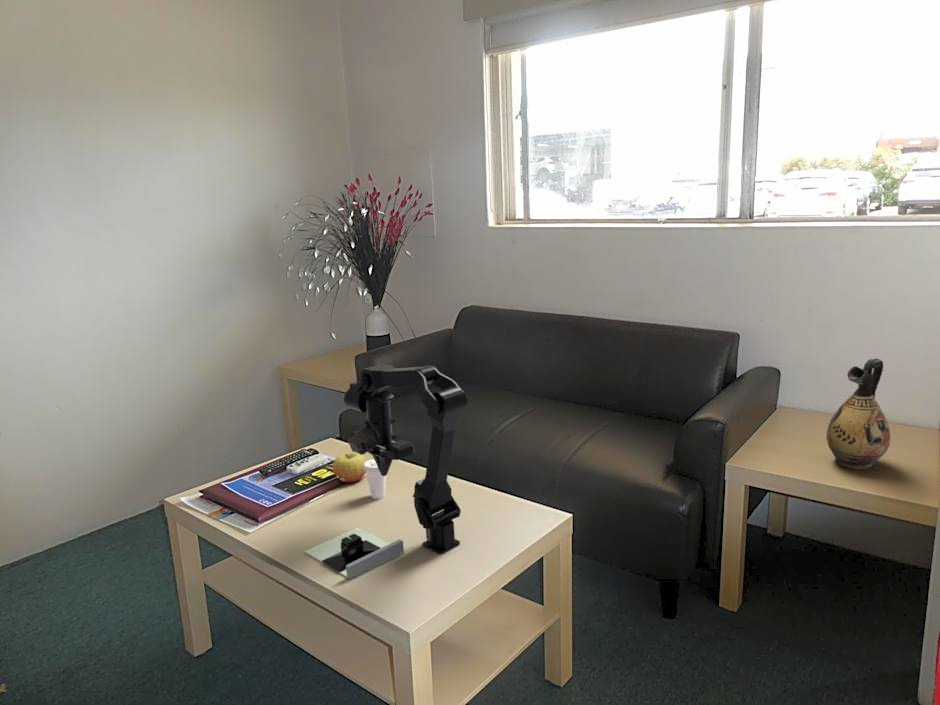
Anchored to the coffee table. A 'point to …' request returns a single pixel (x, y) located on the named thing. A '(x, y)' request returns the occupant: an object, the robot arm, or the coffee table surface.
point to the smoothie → (375, 480)
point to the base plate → (363, 563)
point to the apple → (349, 466)
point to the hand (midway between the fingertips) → (384, 475)
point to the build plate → (350, 552)
